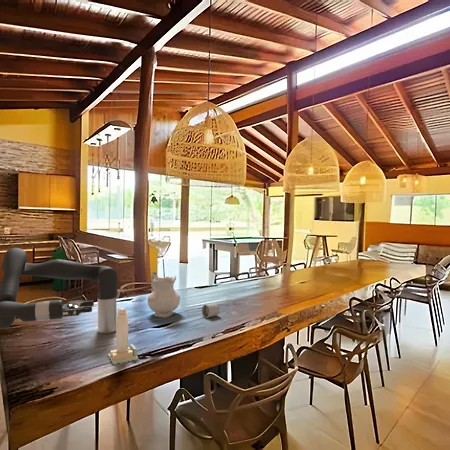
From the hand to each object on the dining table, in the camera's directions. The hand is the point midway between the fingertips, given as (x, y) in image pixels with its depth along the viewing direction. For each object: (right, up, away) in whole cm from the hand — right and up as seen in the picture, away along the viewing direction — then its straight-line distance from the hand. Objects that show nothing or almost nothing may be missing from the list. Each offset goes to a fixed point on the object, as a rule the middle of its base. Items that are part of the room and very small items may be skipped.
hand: (92, 306), depth 145 cm
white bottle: (+11, -20, +4) cm, 23 cm away
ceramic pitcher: (+17, -20, +67) cm, 72 cm away
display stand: (+11, -23, +4) cm, 26 cm away
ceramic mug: (+45, -21, +64) cm, 81 cm away
